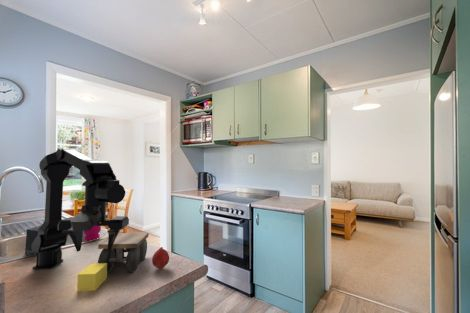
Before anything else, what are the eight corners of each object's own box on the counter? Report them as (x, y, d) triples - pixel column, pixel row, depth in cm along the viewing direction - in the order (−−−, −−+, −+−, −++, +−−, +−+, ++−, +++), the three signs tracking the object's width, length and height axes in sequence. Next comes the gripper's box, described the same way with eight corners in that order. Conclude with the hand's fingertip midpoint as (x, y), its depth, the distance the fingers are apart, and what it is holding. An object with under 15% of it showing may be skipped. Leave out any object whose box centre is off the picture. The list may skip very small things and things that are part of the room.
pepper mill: (88, 236, 111) (90, 197, 112) (103, 236, 112) (104, 197, 112) (79, 241, 104) (81, 199, 105) (95, 241, 105) (97, 199, 105)
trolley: (94, 277, 72) (95, 246, 72) (116, 256, 88) (117, 231, 88) (134, 275, 73) (135, 245, 73) (149, 255, 89) (149, 231, 89)
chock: (77, 291, 64) (77, 274, 64) (90, 279, 71) (91, 263, 71) (94, 290, 64) (95, 273, 64) (106, 278, 71) (107, 263, 71)
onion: (148, 269, 77) (149, 246, 78) (163, 264, 82) (164, 242, 82) (156, 275, 73) (157, 251, 74) (172, 269, 78) (172, 246, 78)
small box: (36, 256, 87) (37, 230, 87) (23, 255, 88) (25, 229, 89) (62, 246, 97) (63, 223, 98) (50, 245, 99) (51, 222, 99)
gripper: (44, 205, 60) (41, 263, 59) (114, 205, 61) (112, 261, 61) (71, 199, 71) (69, 247, 70) (130, 198, 72) (129, 246, 72)
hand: (94, 250), depth 68 cm, fingers open, 9 cm apart
